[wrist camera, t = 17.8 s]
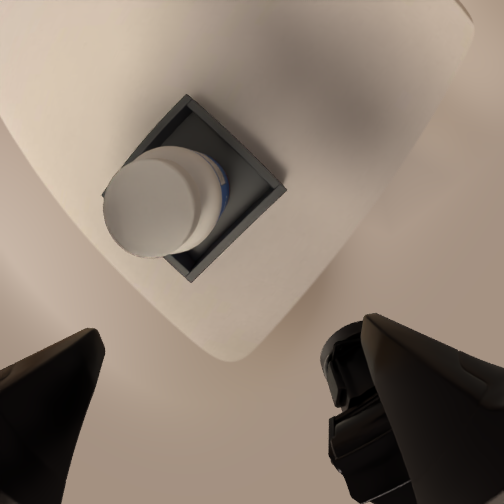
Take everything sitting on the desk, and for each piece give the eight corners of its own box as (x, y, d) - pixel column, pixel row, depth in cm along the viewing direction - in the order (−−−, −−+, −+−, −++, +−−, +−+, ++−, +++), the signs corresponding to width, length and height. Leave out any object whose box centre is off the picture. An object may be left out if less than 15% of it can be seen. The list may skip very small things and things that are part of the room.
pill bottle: (194, 240, 20) (150, 302, 11) (145, 190, 19) (67, 215, 10) (247, 189, 19) (242, 212, 10) (195, 136, 18) (144, 113, 9)
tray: (283, 186, 19) (287, 190, 17) (197, 269, 21) (191, 283, 19) (194, 101, 17) (186, 93, 15) (116, 191, 19) (100, 195, 17)
